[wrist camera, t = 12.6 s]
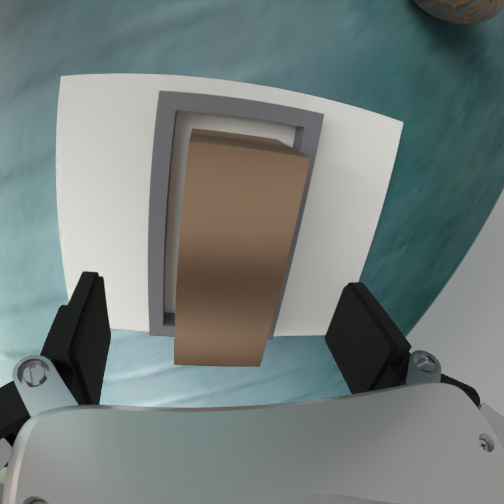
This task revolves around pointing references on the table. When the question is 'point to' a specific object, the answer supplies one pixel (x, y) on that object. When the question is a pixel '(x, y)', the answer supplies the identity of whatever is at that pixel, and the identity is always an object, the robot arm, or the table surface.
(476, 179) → the table surface
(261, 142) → the walnut bar
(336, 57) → the table surface
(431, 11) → the vase
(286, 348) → the table surface
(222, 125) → the slot board
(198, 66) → the table surface
